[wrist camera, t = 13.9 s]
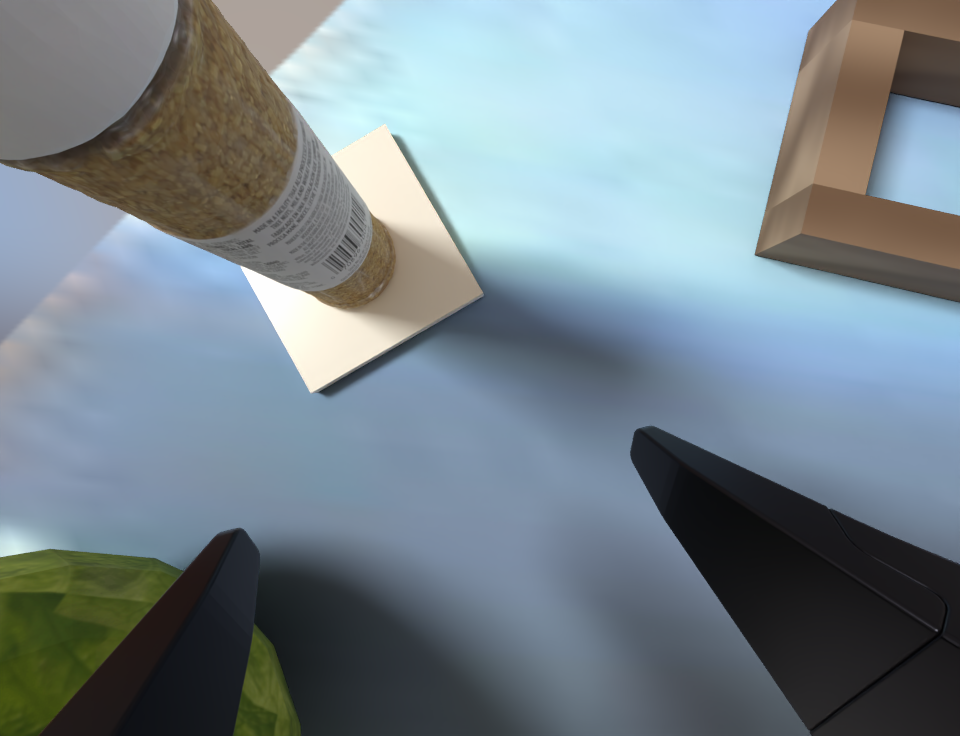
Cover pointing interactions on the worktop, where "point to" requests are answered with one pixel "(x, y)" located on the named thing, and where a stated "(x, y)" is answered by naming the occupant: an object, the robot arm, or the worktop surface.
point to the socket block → (864, 147)
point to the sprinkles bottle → (184, 139)
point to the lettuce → (100, 637)
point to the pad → (411, 291)
